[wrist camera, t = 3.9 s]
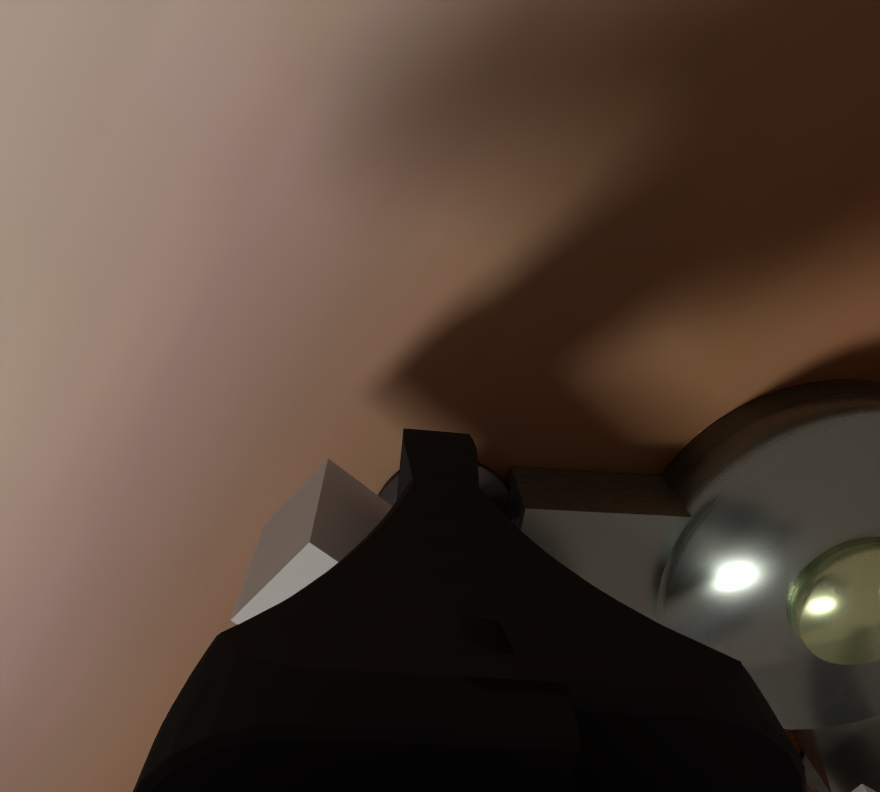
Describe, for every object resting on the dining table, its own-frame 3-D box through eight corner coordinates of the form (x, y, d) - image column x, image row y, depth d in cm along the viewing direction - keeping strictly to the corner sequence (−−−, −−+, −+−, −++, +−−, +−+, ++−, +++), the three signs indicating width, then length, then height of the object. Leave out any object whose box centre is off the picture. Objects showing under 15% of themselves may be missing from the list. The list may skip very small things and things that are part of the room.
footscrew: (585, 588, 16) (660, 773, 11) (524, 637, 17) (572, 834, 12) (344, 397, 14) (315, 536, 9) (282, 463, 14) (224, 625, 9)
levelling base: (883, 790, 21) (964, 899, 18) (354, 785, 19) (346, 905, 16) (1238, 161, 13) (1484, 169, 10) (402, 62, 11) (402, 37, 8)
